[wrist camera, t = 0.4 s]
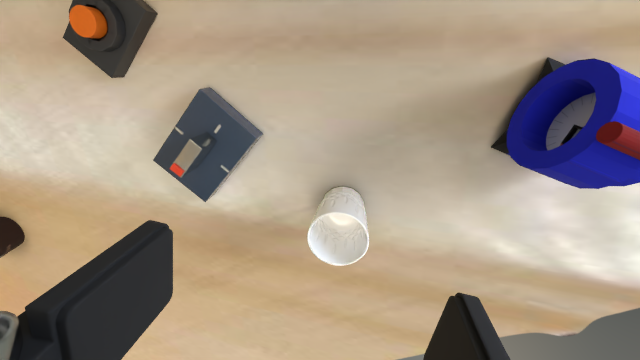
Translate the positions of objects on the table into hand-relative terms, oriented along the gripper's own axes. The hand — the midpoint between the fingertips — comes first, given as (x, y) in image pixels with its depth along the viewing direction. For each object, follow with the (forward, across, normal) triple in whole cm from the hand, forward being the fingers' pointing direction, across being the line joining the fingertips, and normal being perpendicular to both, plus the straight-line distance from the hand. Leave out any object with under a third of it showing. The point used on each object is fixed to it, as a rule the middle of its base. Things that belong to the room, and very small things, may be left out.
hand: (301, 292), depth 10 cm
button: (+31, +35, -6) cm, 47 cm away
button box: (+35, +35, -6) cm, 50 cm away
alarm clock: (+35, -26, -6) cm, 44 cm away
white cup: (+36, -2, +13) cm, 38 cm away
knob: (+32, +20, +8) cm, 39 cm away
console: (+35, +20, +8) cm, 41 cm away
